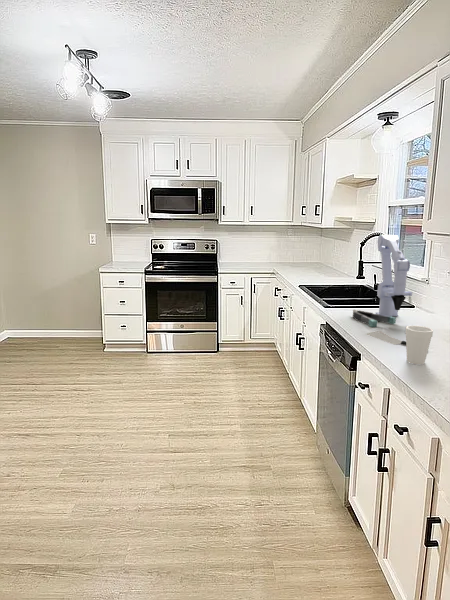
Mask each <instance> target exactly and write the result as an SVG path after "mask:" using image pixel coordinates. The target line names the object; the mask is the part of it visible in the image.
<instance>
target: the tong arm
mask: <svg viewBox="0 0 450 600" xmlns="http://www.w3.org/2000/svg"><path fill="white" fill-rule="evenodd" d="M354 312H358V313H361V314H363V315H364V316H367V317H369V318H371V319H374V320H376V321H377V322H382V323H386V324H390V325H391V324H392V325H394V324H396V322H397V321H396V320H397V316H384V315H378V314H376V313H373V312H369V311H365V310H359V309H353V310H352V317H354Z"/></svg>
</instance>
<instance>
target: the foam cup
mask: <svg viewBox="0 0 450 600" xmlns="http://www.w3.org/2000/svg"><path fill="white" fill-rule="evenodd" d="M405 327H406V328H405V341H406V346H405V347H406V348H405V349H406V362H407V361H408V362H407V363H409V362H410V363H409V364H411V363H413V364H412V365H417V364H422V365H425V362H426V359H427V355H428V352H429V348H430V344H431V341H432V338H433V332H434V330H433V328H430V327H427V326H423V325H407V326H405Z"/></svg>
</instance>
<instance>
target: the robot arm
mask: <svg viewBox="0 0 450 600" xmlns="http://www.w3.org/2000/svg"><path fill="white" fill-rule="evenodd" d="M399 238H400V237H399V235H397V234H395V235H394V234H380V235H379V236H378V238H377V251H379V252H380V256H381V259H380V260H381V271H382V272H381V275H382V281H381V282H379V284H378V285H377V291H376V292H377V293H376V294H377V297H378V298H379V308H378V309H379V310H378V312H375V314H378V315H384V316H389V317H390V316H391V317H399V313H398V312H399V311H400V309H401V307H402V304H403V303H404V301H405V300H406V297H409V296H410V297H413V291H406V286H407V284H406V283H407V276H408V272H409V271H410V268H411V267H410V266H411V264H410V260H409V259H407V258H406V257H405V255H404V253H403V251H402V250H400V249H399V241H400V239H399ZM392 261H393V270H392ZM392 271H393V274H394V277H393V274H392ZM393 278H394V279H393Z"/></svg>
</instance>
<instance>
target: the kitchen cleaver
mask: <svg viewBox="0 0 450 600" xmlns="http://www.w3.org/2000/svg"><path fill="white" fill-rule="evenodd" d="M365 335H367V336H368V337H369V336H370V337H371V338H375V339H378V340H381V341H383V342H386V343H389V344H391V345H394V346H397V345H401V346H405V347H406V340H401V339H398V338H396V337H393V336H390V335H389V334H387V333H385V332H383V331H382V330H375V331H372V332H371V331H370V332H367V333H365Z"/></svg>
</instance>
